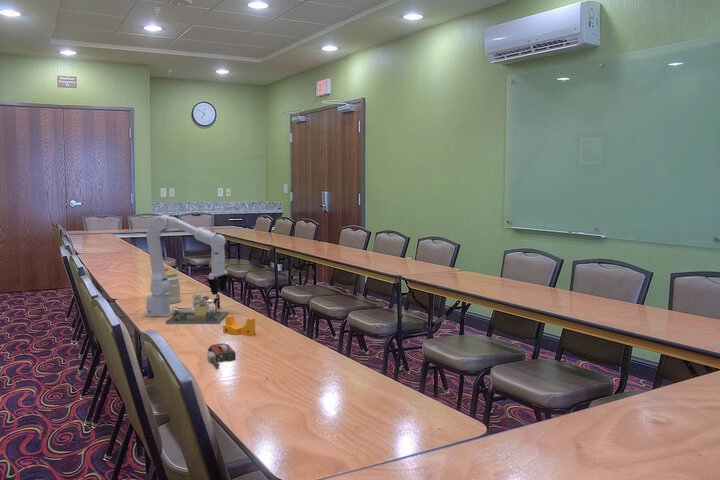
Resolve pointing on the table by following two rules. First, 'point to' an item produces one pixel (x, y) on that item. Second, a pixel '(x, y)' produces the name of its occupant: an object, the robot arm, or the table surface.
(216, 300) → the valve
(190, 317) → the pipe stand
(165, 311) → the robot arm
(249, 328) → the pipe clamp
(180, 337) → the table surface
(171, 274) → the jar
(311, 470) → the table surface
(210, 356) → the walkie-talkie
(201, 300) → the valve lever
